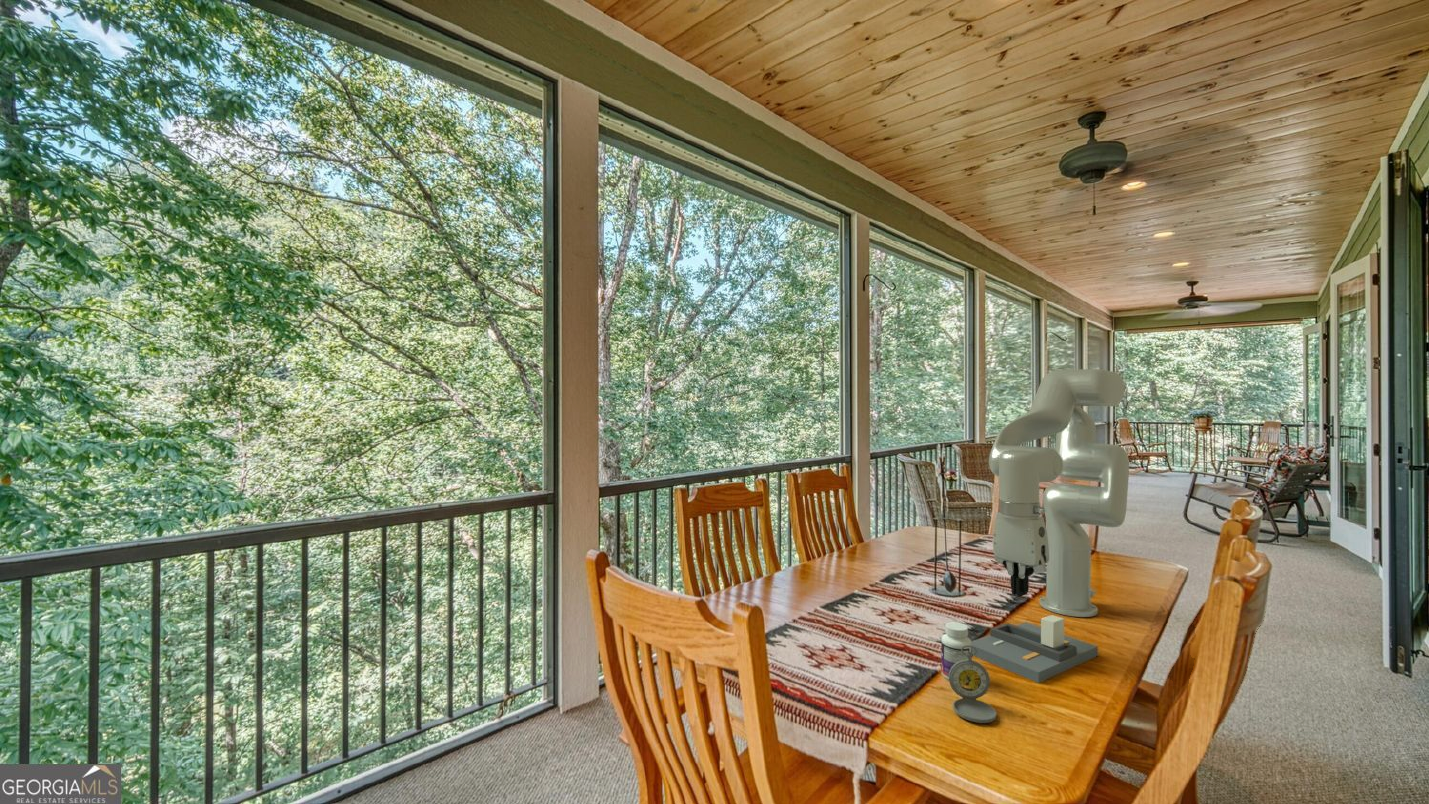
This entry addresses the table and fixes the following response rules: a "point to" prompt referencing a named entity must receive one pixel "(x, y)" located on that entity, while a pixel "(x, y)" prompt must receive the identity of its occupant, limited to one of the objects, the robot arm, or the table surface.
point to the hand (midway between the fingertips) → (1019, 594)
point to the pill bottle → (954, 646)
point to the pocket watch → (971, 690)
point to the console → (1030, 651)
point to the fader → (1052, 632)
